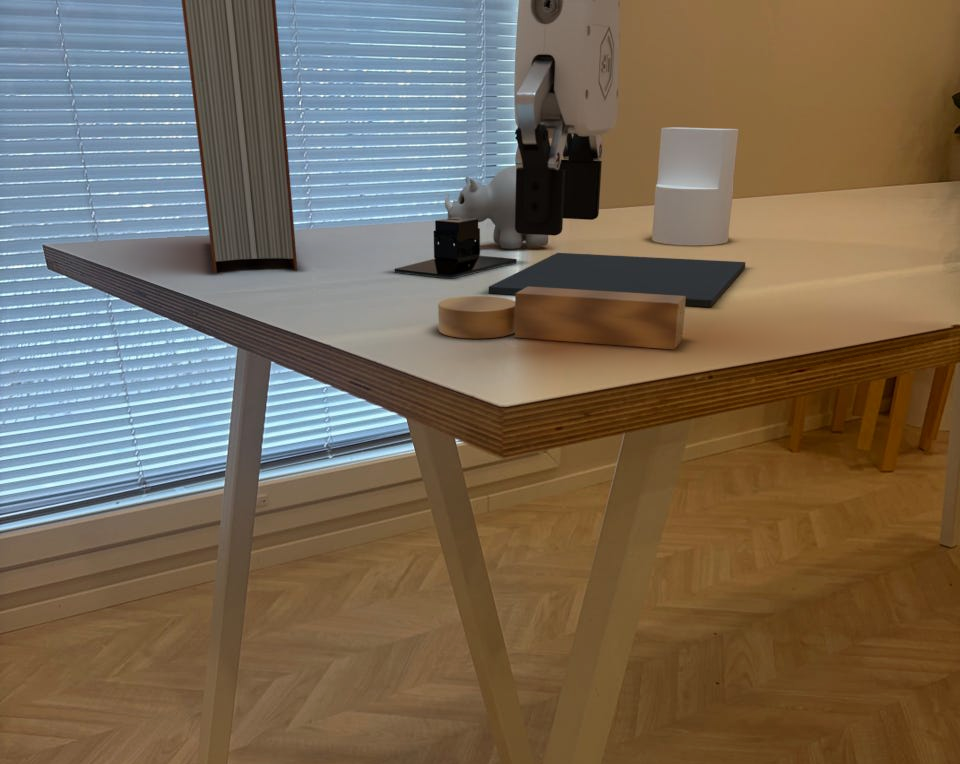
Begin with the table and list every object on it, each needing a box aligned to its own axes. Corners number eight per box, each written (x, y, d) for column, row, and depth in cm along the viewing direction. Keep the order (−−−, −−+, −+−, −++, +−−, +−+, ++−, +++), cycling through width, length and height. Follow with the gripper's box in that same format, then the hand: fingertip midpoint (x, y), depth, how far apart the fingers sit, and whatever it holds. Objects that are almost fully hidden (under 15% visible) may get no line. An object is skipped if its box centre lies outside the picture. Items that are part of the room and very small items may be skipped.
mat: (745, 268, 105) (745, 261, 105) (711, 307, 87) (711, 300, 86) (556, 258, 111) (557, 252, 111) (488, 293, 93) (488, 286, 92)
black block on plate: (462, 258, 112) (462, 212, 110) (519, 263, 109) (520, 216, 106) (393, 272, 103) (391, 222, 101) (453, 279, 99) (453, 227, 97)
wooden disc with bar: (685, 336, 77) (689, 292, 75) (670, 354, 72) (674, 307, 70) (455, 320, 82) (455, 278, 81) (426, 335, 77) (425, 291, 76)
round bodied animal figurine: (440, 244, 121) (439, 164, 117) (540, 241, 123) (542, 163, 118) (450, 253, 114) (448, 169, 110) (554, 249, 116) (557, 167, 112)
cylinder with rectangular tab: (742, 239, 123) (754, 128, 118) (700, 247, 118) (711, 131, 112) (679, 233, 129) (688, 126, 123) (636, 240, 123) (644, 128, 117)
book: (297, 270, 104) (267, -89, 90) (215, 273, 103) (171, -93, 88) (279, 240, 124) (253, -59, 109) (210, 243, 122) (174, -61, 108)
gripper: (594, -84, 57) (577, 244, 65) (656, -50, 71) (636, 216, 79) (467, -79, 59) (466, 237, 67) (552, -47, 73) (543, 211, 82)
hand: (558, 225), depth 73 cm, fingers open, 9 cm apart
